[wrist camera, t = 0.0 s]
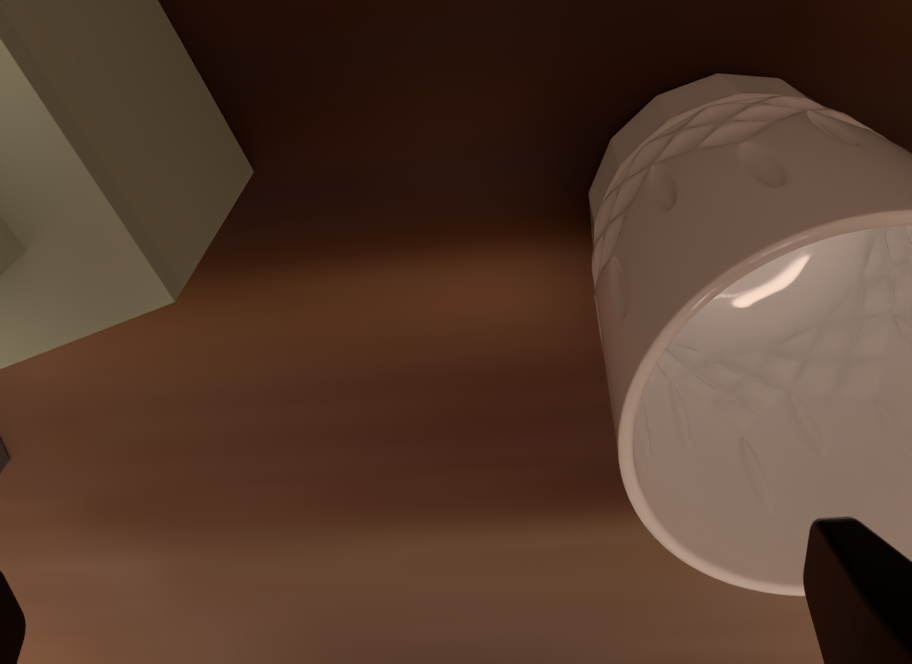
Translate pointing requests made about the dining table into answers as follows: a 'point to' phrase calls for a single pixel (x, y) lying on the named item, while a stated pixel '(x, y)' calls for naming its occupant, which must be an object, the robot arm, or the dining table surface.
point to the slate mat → (3, 457)
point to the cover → (102, 168)
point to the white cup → (756, 324)
